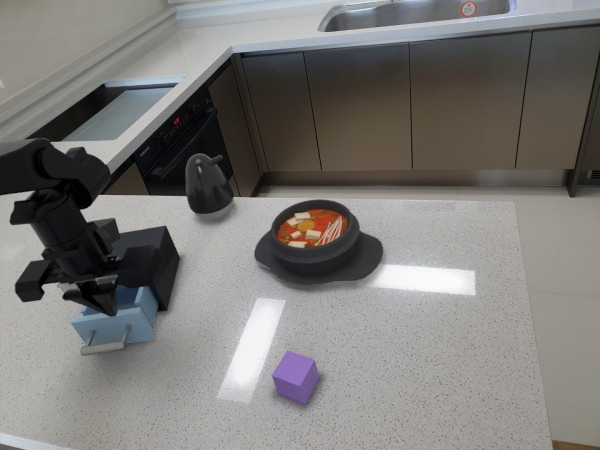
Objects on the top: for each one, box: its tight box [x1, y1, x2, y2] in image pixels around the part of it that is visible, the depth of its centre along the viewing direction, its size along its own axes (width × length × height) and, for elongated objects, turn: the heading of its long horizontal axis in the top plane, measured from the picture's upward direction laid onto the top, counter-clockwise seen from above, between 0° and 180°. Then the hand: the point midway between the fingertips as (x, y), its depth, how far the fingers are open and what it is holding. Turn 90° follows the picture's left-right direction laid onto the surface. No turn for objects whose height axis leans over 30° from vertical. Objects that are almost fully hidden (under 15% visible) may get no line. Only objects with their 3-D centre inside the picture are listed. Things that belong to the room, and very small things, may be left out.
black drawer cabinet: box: [107, 225, 181, 313], centre depth 87 cm, size 15×13×9 cm
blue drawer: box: [70, 285, 159, 357], centre depth 79 cm, size 18×11×7 cm, turn 2°
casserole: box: [253, 198, 384, 286], centre depth 85 cm, size 25×19×8 cm
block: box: [271, 349, 320, 405], centre depth 65 cm, size 4×4×4 cm
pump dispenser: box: [184, 153, 235, 221], centre depth 101 cm, size 10×10×15 cm
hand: (114, 314), depth 67 cm, fingers closed
